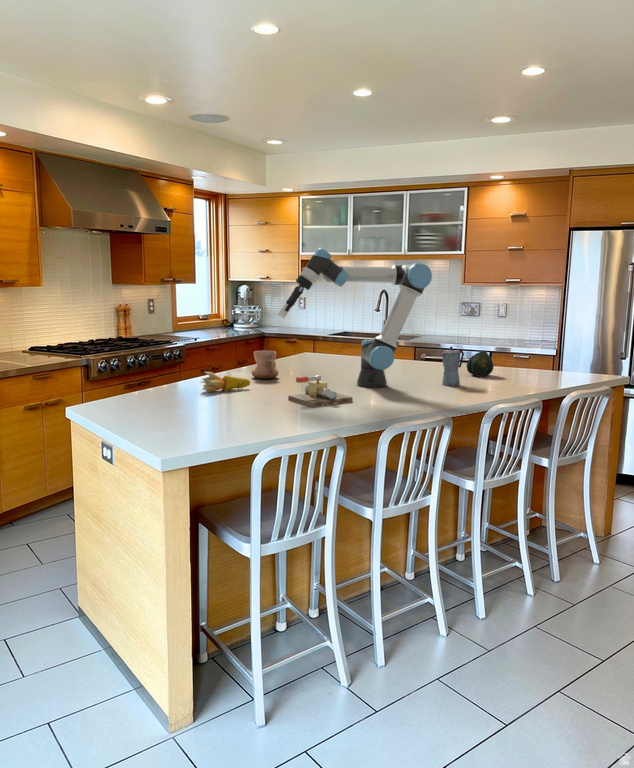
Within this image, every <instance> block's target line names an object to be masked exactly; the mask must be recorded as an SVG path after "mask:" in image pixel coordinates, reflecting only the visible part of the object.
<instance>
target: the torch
mask: <svg viewBox="0 0 634 768" xmlns="http://www.w3.org/2000/svg"><path fill="white" fill-rule="evenodd" d="M204 374H206V375H208V376H207V377H202V378H201V381H200V384H201V383H203V387H202V390H203V391H205V392H208V393H213V392H216V391H220V390H222V391H223V390H224V391H223V392H228V391H230V390H234V389H243V388H246V387H249V386H250V385H251V380H250V379H248V378H242V377H236V376H231V375H224V376H223V377H222V378H221V377H220V376H218V375H217V374H215V373H214V372H212V371H204Z"/></svg>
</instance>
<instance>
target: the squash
mask: <svg viewBox="0 0 634 768" xmlns="http://www.w3.org/2000/svg"><path fill="white" fill-rule="evenodd" d="M494 368H495V367H494V362H493V359H492V358H491V356H490V355H489V353H488V352H487V351H486V350H481V351H479V352H477V353H475V354H474V355H472V356H470V357H469V358H468V360H467V363H466V370H467V372H468V373H469V374H471V375H473V377H483V376H484V377H487V376H488V375H490V374H491V373H493V370H494Z"/></svg>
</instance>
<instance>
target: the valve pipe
mask: <svg viewBox="0 0 634 768" xmlns="http://www.w3.org/2000/svg"><path fill="white" fill-rule="evenodd" d="M304 392H305V393H306V394H308V395H309V396H313V397H322V398H327V399H331V400H335V399H336V397H337V394H336V393H337V392H336V391H333V390H331V389H329V388H328V382H325V381H322V380H320V381H316V380H313V381H308V382H307V384H306V385H305V387H304ZM305 393H304V394H305Z"/></svg>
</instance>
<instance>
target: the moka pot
mask: <svg viewBox="0 0 634 768" xmlns="http://www.w3.org/2000/svg"><path fill="white" fill-rule="evenodd" d="M464 355H465V352H464V351H463V350H462V349H457V350H455V349H453V346H449V350H444V351H441V357H442V366H443V375H442V383H441V384H442V386H446V387H457V386H458V387H459V386H460V385H461V382H460V374H459V368H461V367H462V364H463V359H464V357H465V356H464Z"/></svg>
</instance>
